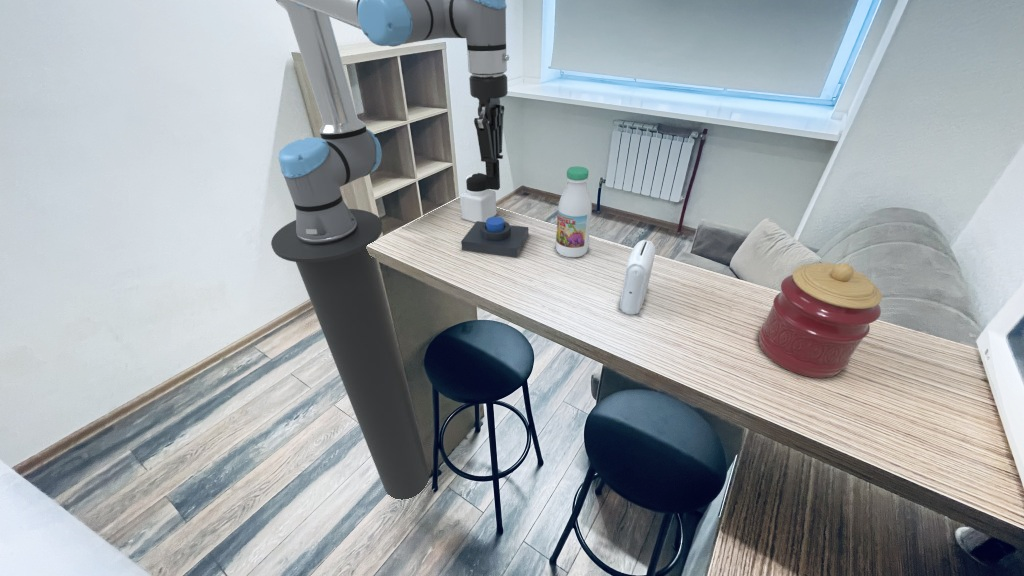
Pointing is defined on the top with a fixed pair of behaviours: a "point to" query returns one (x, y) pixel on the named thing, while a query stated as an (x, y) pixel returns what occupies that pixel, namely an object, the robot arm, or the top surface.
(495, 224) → the push top
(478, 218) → the medicine bottle
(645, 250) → the photo printer
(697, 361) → the top surface
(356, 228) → the robot arm
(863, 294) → the kitchen canister
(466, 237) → the button base
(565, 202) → the milk bottle
